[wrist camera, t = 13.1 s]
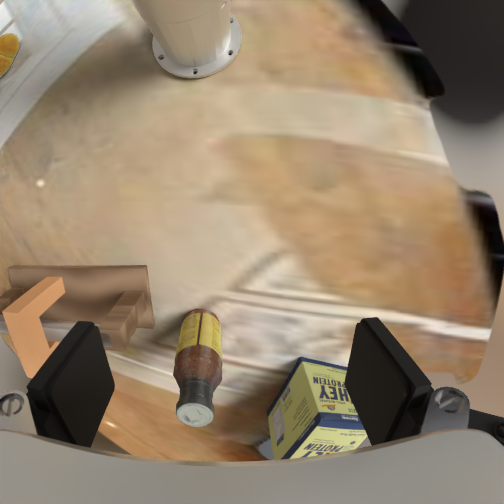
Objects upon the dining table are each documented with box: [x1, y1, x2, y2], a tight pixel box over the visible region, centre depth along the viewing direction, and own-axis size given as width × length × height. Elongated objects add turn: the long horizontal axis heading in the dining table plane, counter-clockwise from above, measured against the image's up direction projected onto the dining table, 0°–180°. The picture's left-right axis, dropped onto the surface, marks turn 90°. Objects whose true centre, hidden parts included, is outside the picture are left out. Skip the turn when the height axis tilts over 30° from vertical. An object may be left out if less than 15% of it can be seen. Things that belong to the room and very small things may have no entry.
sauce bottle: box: [173, 309, 222, 427], centre depth 37 cm, size 7×6×20 cm
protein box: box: [267, 357, 367, 460], centre depth 45 cm, size 10×16×16 cm
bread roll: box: [0, 34, 20, 78], centre depth 29 cm, size 8×9×4 cm
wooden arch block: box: [2, 277, 70, 378], centre depth 33 cm, size 10×3×12 cm, turn 1°
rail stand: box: [0, 265, 155, 351], centre depth 38 cm, size 10×28×13 cm, turn 90°
